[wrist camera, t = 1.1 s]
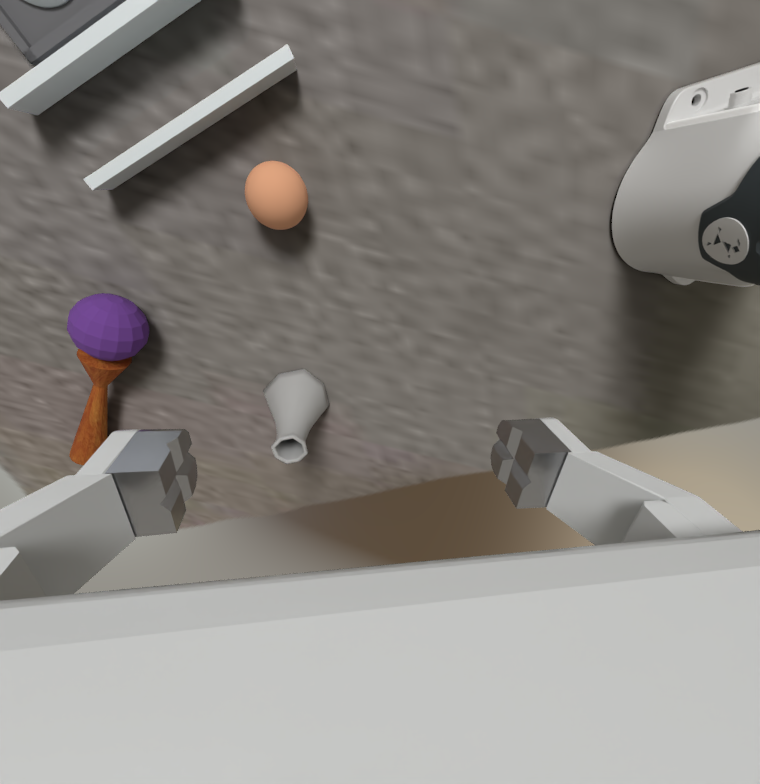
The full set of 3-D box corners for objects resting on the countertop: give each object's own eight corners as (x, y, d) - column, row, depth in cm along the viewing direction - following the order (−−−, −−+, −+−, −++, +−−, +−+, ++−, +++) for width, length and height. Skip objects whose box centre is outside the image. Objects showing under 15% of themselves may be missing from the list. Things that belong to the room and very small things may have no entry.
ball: (288, 150, 30) (282, 144, 26) (319, 209, 33) (318, 213, 29) (238, 181, 31) (224, 180, 27) (273, 237, 34) (265, 244, 29)
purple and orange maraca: (37, 459, 38) (50, 290, 29) (82, 427, 43) (106, 275, 34) (95, 483, 39) (125, 326, 30) (133, 448, 44) (168, 307, 35)
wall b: (228, -40, 25) (217, -67, 22) (236, -25, 25) (226, -49, 23) (27, 103, 27) (-4, 94, 24) (37, 115, 27) (7, 108, 25)
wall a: (291, 57, 28) (287, 44, 25) (296, 69, 28) (293, 58, 25) (104, 179, 30) (83, 179, 27) (112, 189, 30) (92, 190, 28)
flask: (251, 387, 41) (231, 441, 32) (306, 357, 40) (301, 405, 31) (288, 431, 44) (279, 490, 36) (339, 405, 43) (343, 459, 35)
